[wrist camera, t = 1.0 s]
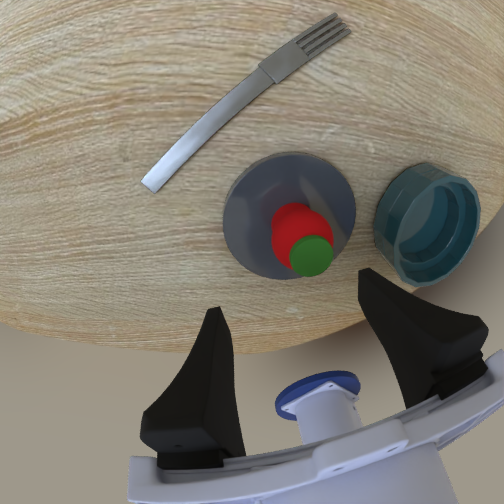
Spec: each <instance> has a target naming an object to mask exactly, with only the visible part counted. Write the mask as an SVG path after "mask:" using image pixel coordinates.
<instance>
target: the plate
mask: <svg viewBox="0 0 504 504" xmlns="http://www.w3.org/2000/svg"><path fill="white" fill-rule="evenodd" d="M289 203H301V204H304V205H306V206H307V207H309V208H310V210H312V211H315V212H317V213H319V214H320V215H322V216H323V217H324V218H325V219H326V220H327V222H328V223H329V225H330V227H331V229H332V232H333V238H334V243H333V248H332V249H333V259H332V261H333V260H334V259H335V258H336V257H337V256H338V255H339V253H340V252H341V251H342V250H343V248H344V247H345V245H346V244H347V242H348V240H349V238H350V236H351V233H352V231H353V227H354V223H355V217H356V207H355V200H354V196H353V193H352V190H351V188H350V186H349V184H348V182H347V181H346V179H345V178H344V176H343V175H342V174H341V173H340V172H339V171H338V170H337V169H336V168H335V167H333V166H332V165H330V164H329V163H327V162H326V161H324V160H323V159H320V158H318V157H316V156H313V155H310V154H307V153H300V152H284V153H278V154H274V155H270V156H268V157H265V158H263V159H261V160H259V161H257V162H255V163H254V164H252V165H251V166H250V167H248V168H247V169H246V170H245V171H244V172H243V173H242V174H241V175H240V176H239V177H238V178H237V179H236V181H235V182H234V183H233V185H232V186H231V188H230V190H229V192H228V194H227V197H226V200H225V203H224V207H223V217H222V218H223V232H224V237H225V240H226V243H227V246H228V248H229V250H230V251H231V253H232V255H233V256H234V257H235V258H236V260H237V261H238V262H239V263H240V264H241V265H242V266H244V267H245V268H246V269H248V270H250V271H251V272H253V273H255V274H257V275H260V276H263V277H266V278H271V279H280V280H287V279H295V278H300V277H304V276H301V275H299V274H297V273H296V272H295V271H294V270H292V269H289V268H287V267H286V266H284V265H283V264H282V263H281V262H280V261H279V260H278V259H277V257H276V256H275V253H274V251H273V248H272V242H271V239H272V228H271V222H272V218H273V216H274V214H275V213H276V211H277V210H278V209H279V208H281V207H282V206H284V205H286V204H289Z"/></svg>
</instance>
